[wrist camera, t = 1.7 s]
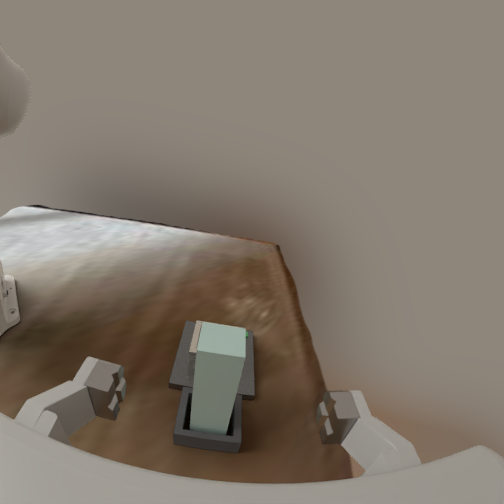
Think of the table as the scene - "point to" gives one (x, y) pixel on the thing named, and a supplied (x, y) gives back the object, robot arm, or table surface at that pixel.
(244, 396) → the port panel
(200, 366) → the plug
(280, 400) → the table surface
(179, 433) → the holster
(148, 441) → the table surface
